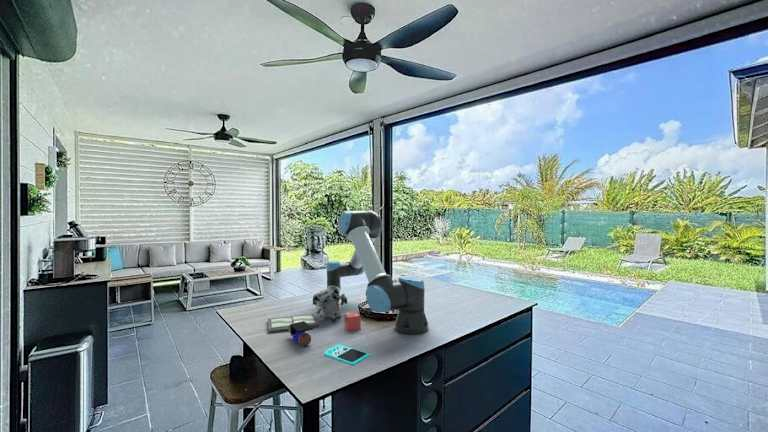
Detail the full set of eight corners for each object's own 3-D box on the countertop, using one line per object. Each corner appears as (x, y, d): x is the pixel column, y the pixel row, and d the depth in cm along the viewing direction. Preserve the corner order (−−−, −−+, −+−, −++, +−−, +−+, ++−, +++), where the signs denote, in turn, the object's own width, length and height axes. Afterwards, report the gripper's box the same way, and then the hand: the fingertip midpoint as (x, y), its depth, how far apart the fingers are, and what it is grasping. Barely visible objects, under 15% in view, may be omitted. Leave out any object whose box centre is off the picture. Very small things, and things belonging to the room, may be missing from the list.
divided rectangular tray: (318, 327, 159) (318, 323, 159) (268, 333, 152) (268, 329, 152) (314, 316, 174) (314, 313, 174) (268, 321, 167) (268, 318, 167)
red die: (360, 329, 156) (360, 315, 156) (347, 330, 154) (347, 317, 154) (357, 324, 162) (357, 311, 162) (344, 326, 160) (344, 313, 160)
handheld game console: (339, 346, 139) (339, 343, 139) (370, 356, 130) (370, 353, 130) (321, 355, 131) (321, 352, 131) (353, 367, 122) (353, 363, 122)
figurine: (315, 321, 170) (307, 293, 167) (336, 312, 176) (329, 284, 173) (322, 327, 162) (314, 298, 159) (344, 317, 168) (336, 288, 165)
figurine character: (287, 340, 148) (298, 349, 135) (286, 322, 148) (297, 329, 136) (302, 336, 152) (315, 345, 139) (301, 319, 152) (314, 325, 139)
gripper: (353, 299, 187) (352, 313, 165) (311, 300, 186) (305, 314, 164) (353, 286, 187) (352, 297, 165) (311, 287, 185) (304, 299, 163)
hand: (328, 306), depth 164 cm, fingers closed on figurine, 10 cm apart
